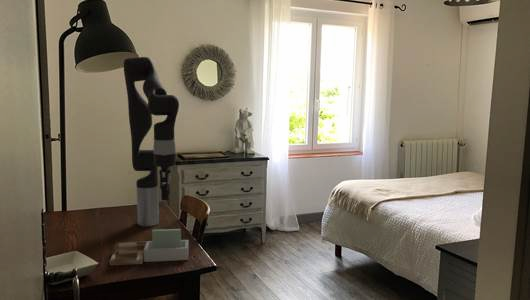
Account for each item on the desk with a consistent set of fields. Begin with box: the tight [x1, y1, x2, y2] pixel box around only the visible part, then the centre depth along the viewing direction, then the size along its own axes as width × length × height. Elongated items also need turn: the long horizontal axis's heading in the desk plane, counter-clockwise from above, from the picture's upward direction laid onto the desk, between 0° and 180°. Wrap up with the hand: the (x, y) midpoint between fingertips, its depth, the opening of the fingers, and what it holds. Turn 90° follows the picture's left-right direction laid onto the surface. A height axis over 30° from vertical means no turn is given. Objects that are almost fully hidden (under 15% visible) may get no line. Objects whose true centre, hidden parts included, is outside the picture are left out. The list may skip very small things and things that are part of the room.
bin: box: [143, 239, 190, 263], centre depth 170 cm, size 9×15×4 cm, turn 98°
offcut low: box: [115, 249, 138, 261], centre depth 163 cm, size 4×7×2 cm, turn 98°
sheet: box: [151, 228, 182, 249], centre depth 170 cm, size 2×10×9 cm, turn 97°
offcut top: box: [119, 241, 138, 254], centre depth 163 cm, size 4×6×2 cm, turn 106°
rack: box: [108, 241, 147, 266], centre depth 168 cm, size 14×11×4 cm
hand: (165, 197), depth 167 cm, fingers open, 8 cm apart
